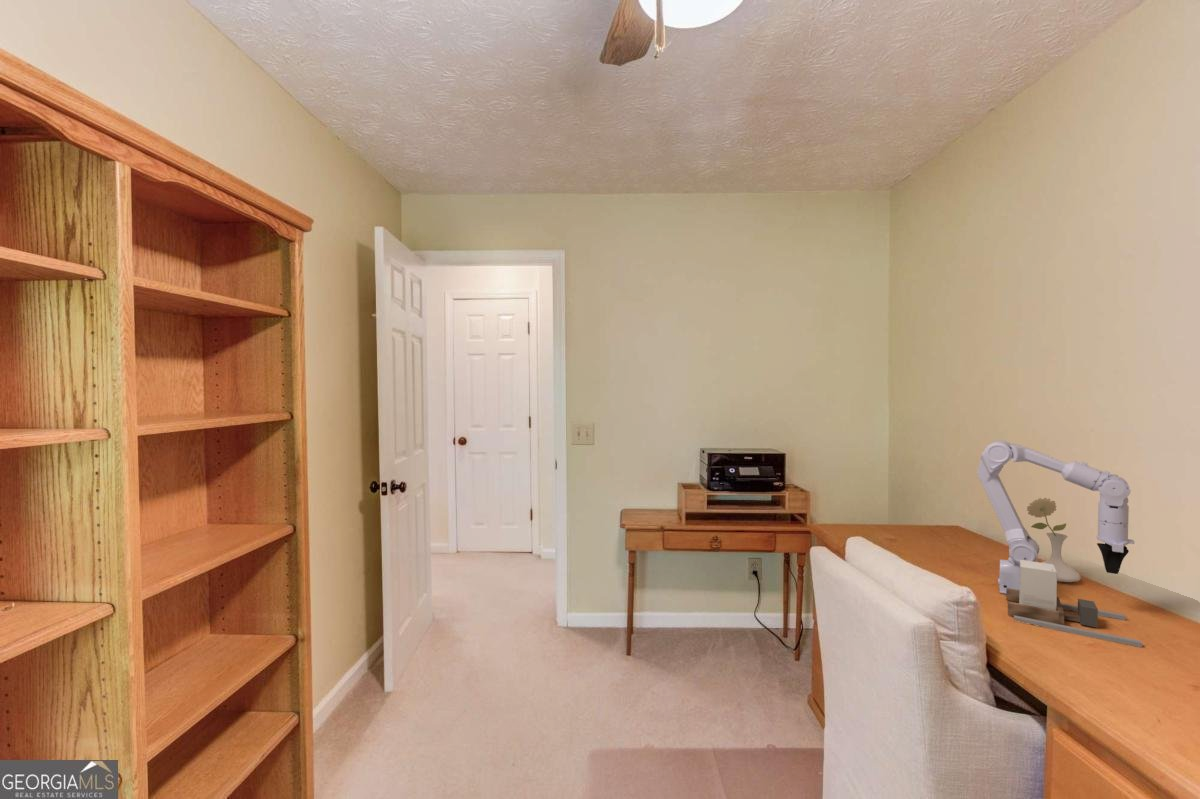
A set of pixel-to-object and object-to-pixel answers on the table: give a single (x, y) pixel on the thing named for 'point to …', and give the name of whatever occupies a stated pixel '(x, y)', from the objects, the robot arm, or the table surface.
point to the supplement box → (1038, 585)
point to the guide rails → (1083, 631)
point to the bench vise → (1084, 616)
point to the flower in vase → (1053, 539)
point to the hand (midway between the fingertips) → (1111, 572)
